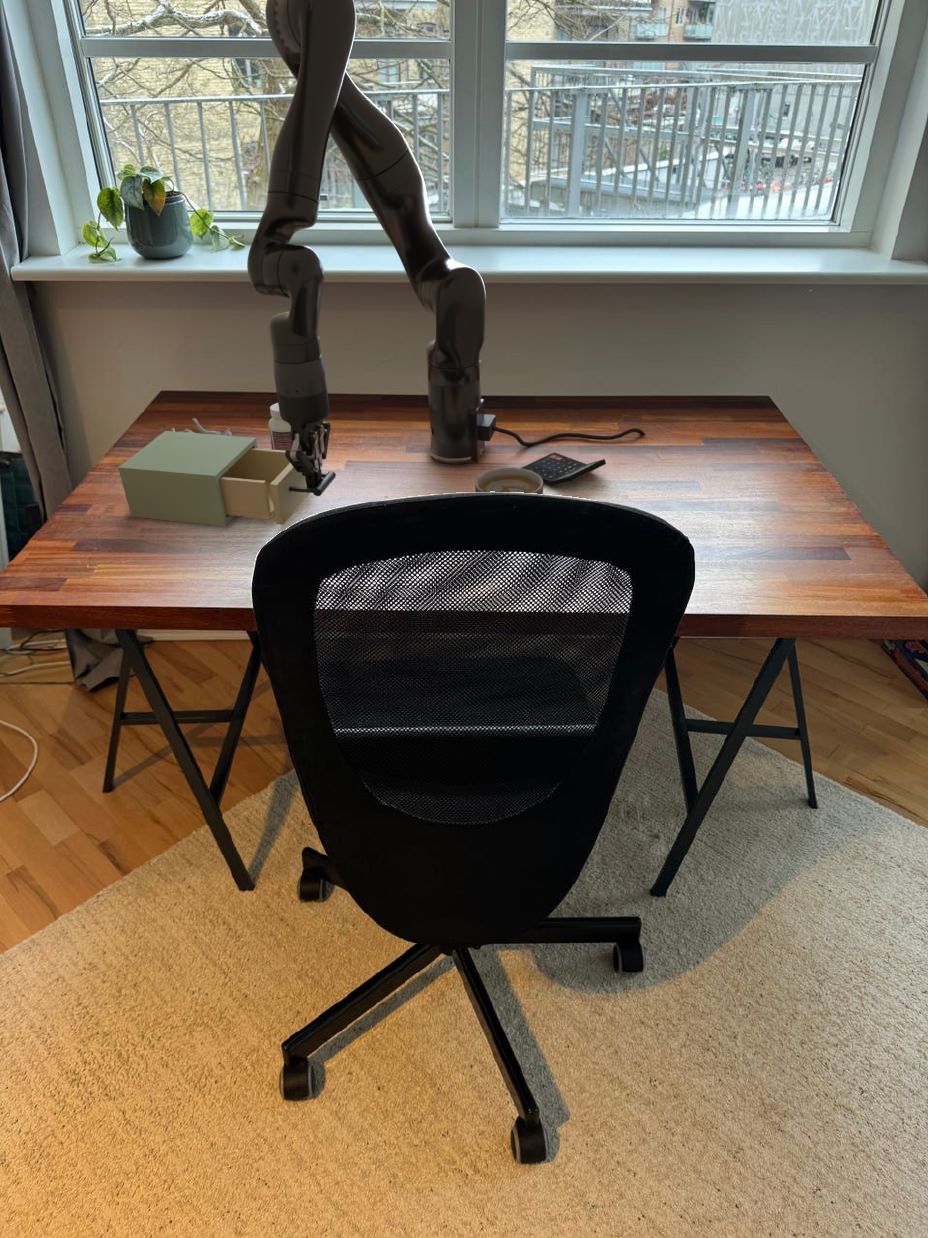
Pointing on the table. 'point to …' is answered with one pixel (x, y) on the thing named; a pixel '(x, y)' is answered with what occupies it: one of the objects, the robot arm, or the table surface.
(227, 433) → the soldier figure
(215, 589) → the table surface
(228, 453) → the cabinet
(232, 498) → the drawer
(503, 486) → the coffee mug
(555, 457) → the calculator
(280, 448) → the pill bottle
